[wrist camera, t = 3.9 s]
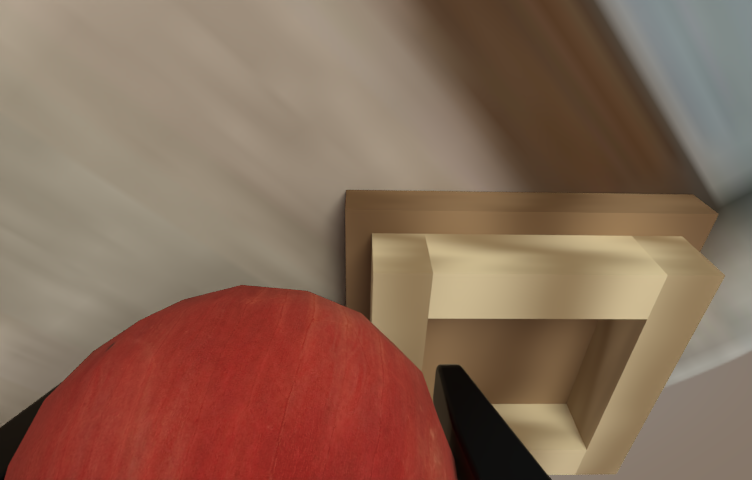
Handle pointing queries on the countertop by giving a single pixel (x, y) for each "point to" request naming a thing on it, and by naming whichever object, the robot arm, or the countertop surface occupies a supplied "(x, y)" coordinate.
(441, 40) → the countertop surface
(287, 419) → the onion
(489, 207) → the cradle board
